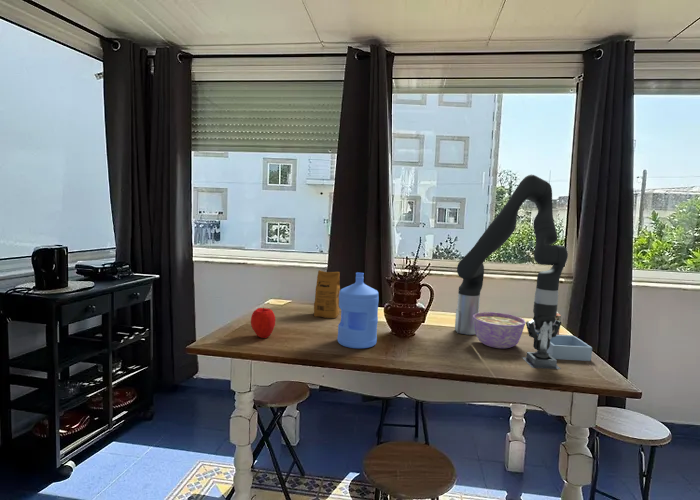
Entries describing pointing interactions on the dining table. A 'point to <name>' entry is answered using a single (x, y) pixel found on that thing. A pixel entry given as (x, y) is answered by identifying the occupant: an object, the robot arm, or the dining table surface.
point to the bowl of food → (498, 329)
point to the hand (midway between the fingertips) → (541, 348)
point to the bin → (569, 348)
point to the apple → (263, 322)
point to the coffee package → (327, 295)
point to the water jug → (358, 315)
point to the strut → (543, 345)
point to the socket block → (541, 361)
